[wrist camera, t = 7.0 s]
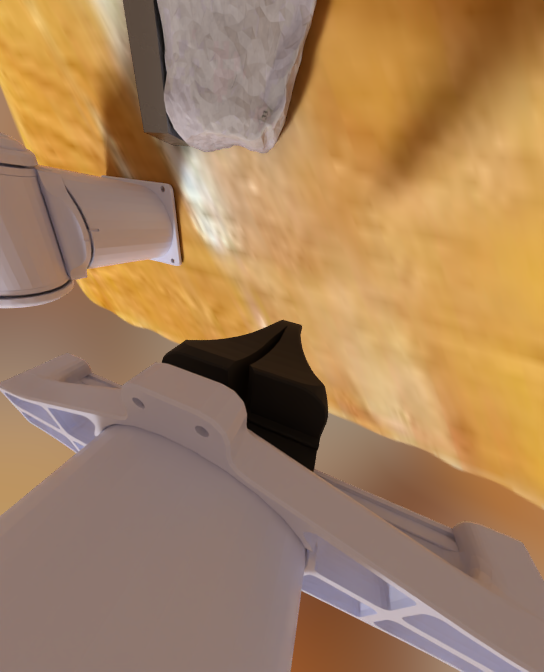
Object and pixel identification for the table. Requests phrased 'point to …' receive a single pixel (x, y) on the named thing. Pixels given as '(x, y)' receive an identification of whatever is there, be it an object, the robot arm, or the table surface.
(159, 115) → the bar
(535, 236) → the table surface
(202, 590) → the robot arm
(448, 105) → the table surface
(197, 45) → the stone block
